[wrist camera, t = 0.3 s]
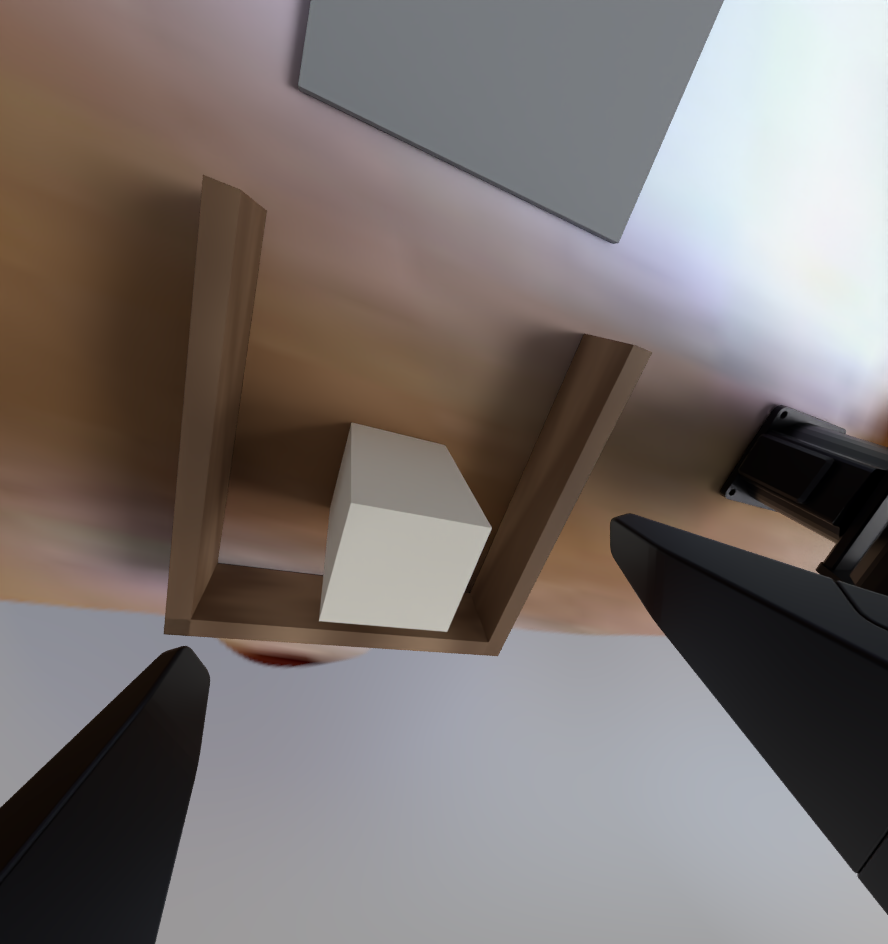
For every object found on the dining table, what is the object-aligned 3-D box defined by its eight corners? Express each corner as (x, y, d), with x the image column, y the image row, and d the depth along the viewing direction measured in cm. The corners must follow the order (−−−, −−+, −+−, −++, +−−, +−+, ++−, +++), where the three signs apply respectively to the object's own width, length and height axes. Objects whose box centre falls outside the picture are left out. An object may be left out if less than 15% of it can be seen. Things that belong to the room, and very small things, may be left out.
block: (445, 445, 21) (492, 528, 14) (417, 523, 23) (447, 631, 16) (351, 422, 19) (351, 502, 12) (330, 507, 21) (319, 621, 14)
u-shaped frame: (599, 339, 20) (652, 352, 17) (478, 606, 27) (497, 655, 23) (238, 200, 15) (203, 174, 11) (194, 575, 21) (163, 634, 18)
